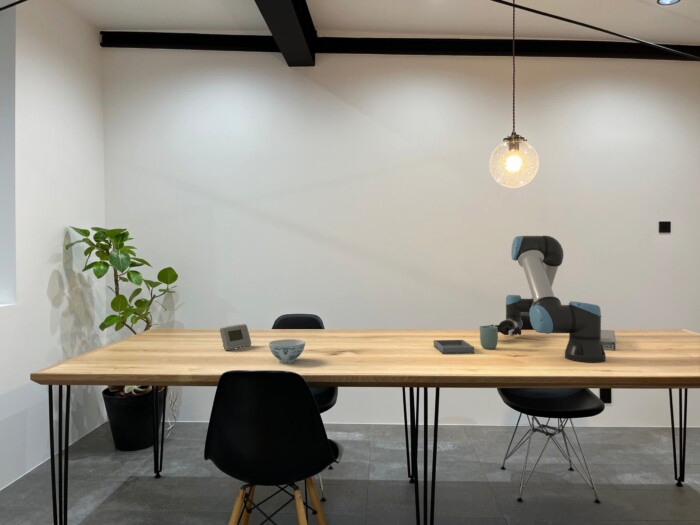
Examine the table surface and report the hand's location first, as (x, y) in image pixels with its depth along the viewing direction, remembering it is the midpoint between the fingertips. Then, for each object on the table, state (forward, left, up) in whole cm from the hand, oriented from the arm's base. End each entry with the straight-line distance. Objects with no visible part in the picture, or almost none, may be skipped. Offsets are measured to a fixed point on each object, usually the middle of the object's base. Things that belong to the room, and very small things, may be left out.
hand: (494, 332), depth 225 cm
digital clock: (+4, +124, -6) cm, 124 cm away
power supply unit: (+1, -49, -7) cm, 49 cm away
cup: (-7, +6, -6) cm, 11 cm away
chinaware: (-25, +97, -6) cm, 100 cm away
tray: (-8, +23, -6) cm, 25 cm away
